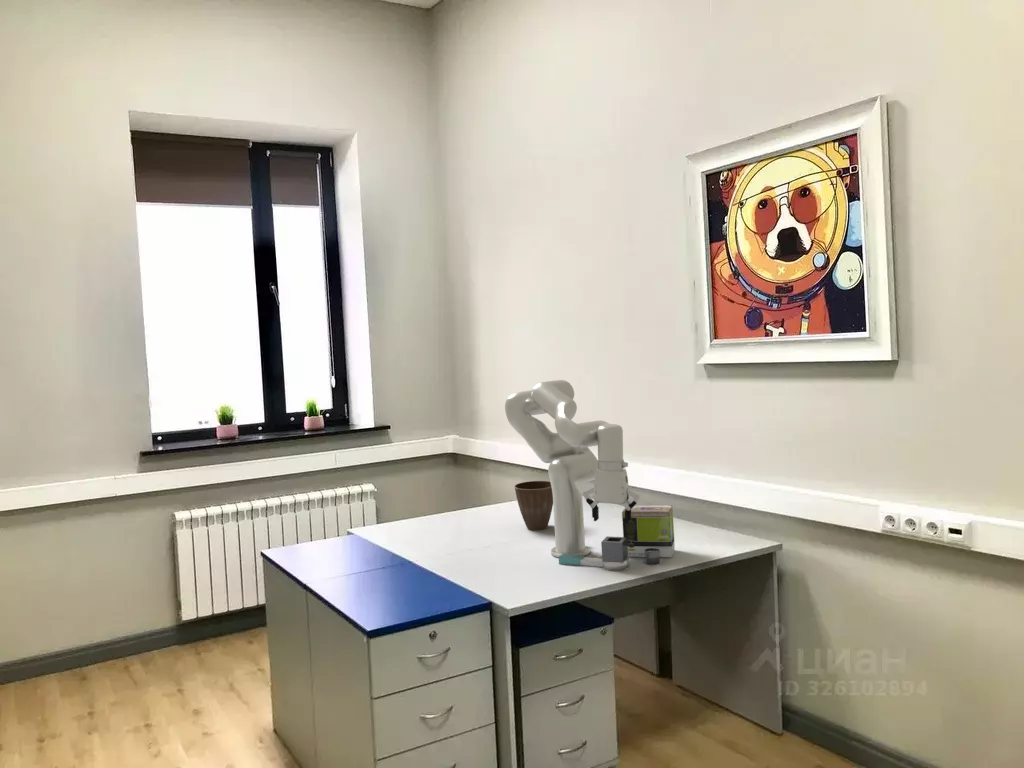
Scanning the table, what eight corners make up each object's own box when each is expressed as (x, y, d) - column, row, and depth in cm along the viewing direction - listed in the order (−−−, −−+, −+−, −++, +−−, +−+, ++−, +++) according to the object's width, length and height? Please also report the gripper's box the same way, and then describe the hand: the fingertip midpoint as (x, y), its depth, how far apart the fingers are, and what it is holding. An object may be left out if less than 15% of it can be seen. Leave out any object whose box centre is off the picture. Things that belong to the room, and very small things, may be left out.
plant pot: (558, 531, 299) (555, 487, 298) (516, 534, 299) (514, 489, 298) (556, 522, 314) (554, 479, 312) (517, 524, 314) (514, 482, 313)
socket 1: (607, 555, 257) (606, 536, 256) (628, 556, 254) (627, 537, 254) (602, 561, 251) (601, 541, 250) (623, 562, 249) (622, 542, 248)
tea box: (675, 549, 268) (673, 504, 267) (672, 558, 258) (670, 511, 257) (628, 548, 272) (626, 504, 271) (623, 557, 263) (621, 511, 261)
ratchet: (632, 564, 255) (631, 545, 254) (624, 571, 247) (623, 552, 247) (565, 558, 264) (564, 540, 264) (556, 566, 257) (555, 547, 257)
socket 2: (647, 560, 258) (646, 547, 257) (661, 561, 256) (660, 548, 256) (644, 564, 254) (643, 551, 253) (658, 565, 252) (657, 552, 252)
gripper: (641, 464, 251) (642, 519, 253) (586, 461, 257) (587, 516, 259) (636, 469, 244) (637, 526, 246) (579, 466, 250) (580, 522, 252)
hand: (611, 521), depth 253 cm, fingers open, 9 cm apart
